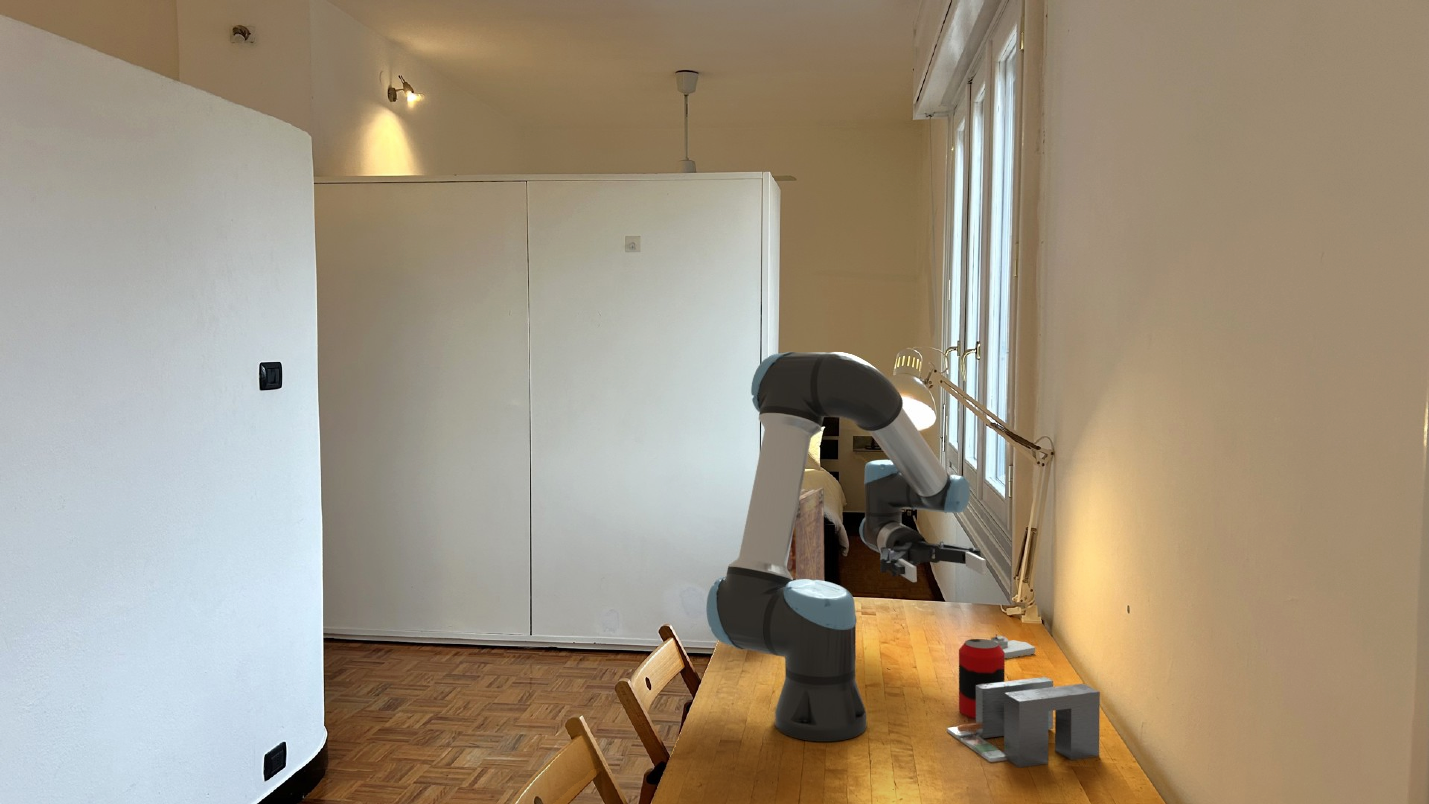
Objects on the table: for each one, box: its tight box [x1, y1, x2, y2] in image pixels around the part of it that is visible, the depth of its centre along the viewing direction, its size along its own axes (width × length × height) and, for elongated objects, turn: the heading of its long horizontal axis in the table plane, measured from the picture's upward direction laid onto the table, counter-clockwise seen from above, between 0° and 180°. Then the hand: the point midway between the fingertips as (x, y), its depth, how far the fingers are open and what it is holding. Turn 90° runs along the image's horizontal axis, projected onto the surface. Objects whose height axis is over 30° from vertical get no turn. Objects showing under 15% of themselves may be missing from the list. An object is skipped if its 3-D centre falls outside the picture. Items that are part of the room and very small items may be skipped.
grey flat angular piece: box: [990, 633, 1036, 659], centre depth 208 cm, size 12×11×4 cm
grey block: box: [957, 676, 1054, 739], centre depth 161 cm, size 17×7×8 cm, turn 106°
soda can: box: [958, 638, 1006, 720], centre depth 173 cm, size 8×8×12 cm
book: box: [787, 487, 825, 581], centre depth 230 cm, size 25×9×30 cm, turn 160°
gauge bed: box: [946, 683, 1101, 768], centre depth 159 cm, size 17×16×10 cm
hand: (949, 571), depth 183 cm, fingers open, 13 cm apart
